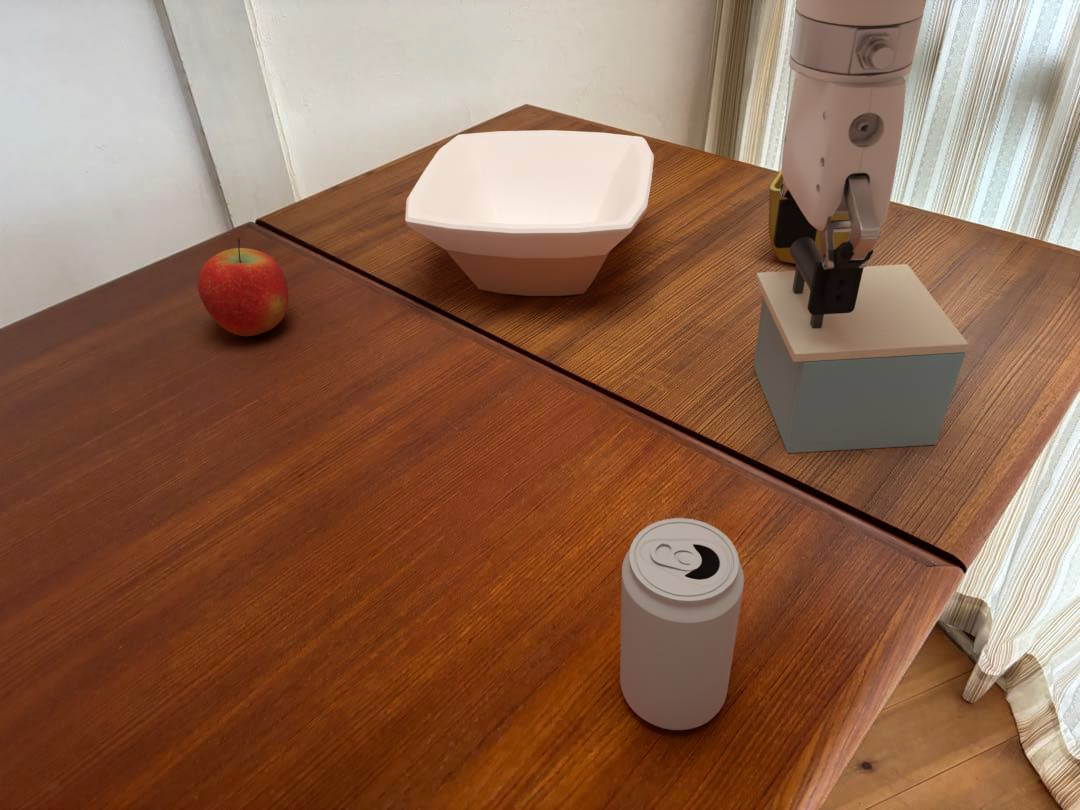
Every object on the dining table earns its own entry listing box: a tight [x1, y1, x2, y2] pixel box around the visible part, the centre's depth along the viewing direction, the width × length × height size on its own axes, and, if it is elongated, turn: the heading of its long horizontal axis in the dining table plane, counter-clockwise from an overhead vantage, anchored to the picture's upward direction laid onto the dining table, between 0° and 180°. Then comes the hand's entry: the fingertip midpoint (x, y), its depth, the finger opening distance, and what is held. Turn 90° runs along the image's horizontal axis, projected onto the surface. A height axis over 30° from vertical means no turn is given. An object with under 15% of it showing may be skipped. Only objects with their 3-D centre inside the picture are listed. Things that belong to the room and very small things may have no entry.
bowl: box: [404, 129, 655, 297], centre depth 89 cm, size 24×25×11 cm
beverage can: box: [619, 517, 745, 731], centre depth 48 cm, size 6×6×12 cm
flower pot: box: [768, 168, 851, 265], centre depth 89 cm, size 9×9×9 cm
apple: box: [197, 236, 289, 337], centre depth 82 cm, size 8×8×10 cm
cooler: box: [752, 296, 966, 454], centre depth 69 cm, size 12×12×9 cm
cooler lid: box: [755, 237, 969, 362], centre depth 65 cm, size 13×12×5 cm
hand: (810, 276), depth 64 cm, fingers open, 9 cm apart
